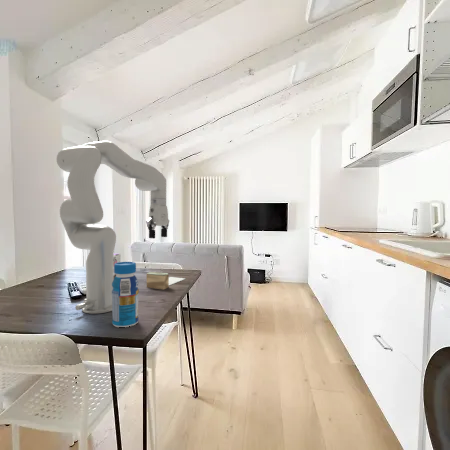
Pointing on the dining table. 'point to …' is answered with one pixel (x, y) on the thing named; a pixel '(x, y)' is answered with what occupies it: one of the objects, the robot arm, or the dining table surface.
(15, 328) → the dining table surface
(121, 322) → the beverage bottle
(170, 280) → the white rectangular board
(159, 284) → the oak slab
